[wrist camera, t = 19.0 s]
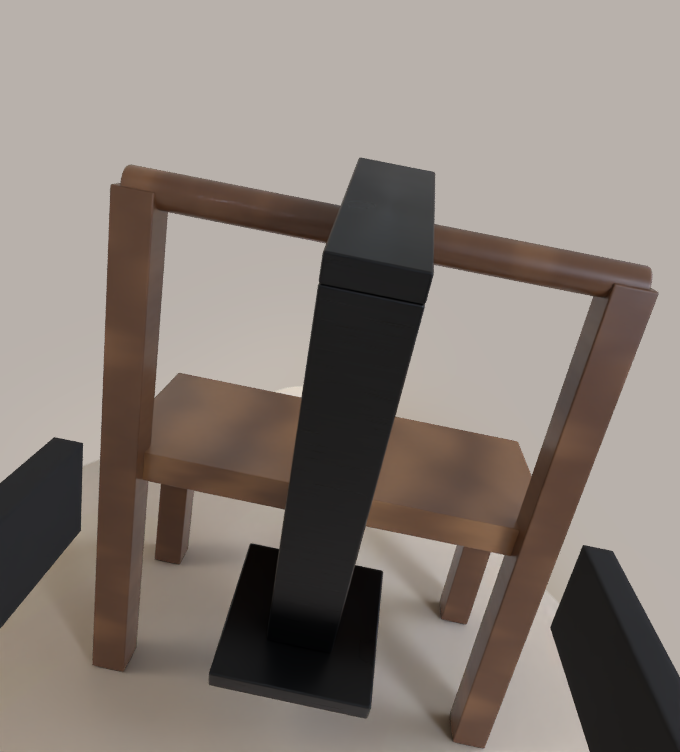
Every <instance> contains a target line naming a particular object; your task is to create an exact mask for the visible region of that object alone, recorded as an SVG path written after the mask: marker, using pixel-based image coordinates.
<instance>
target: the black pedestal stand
mask: <svg viewBox="0 0 680 752" xmlns="http://www.w3.org/2000/svg"><path fill="white" fill-rule="evenodd" d="M434 212H435V173H434V172H431V171H426V170H421V169H416V168H410V167H406V166H400V165H395V164H390V163H385V162H380V161H375V160H370V159H365V158H359V159H358V162H357V164H356V167H355V170H354V172H353V175H352V178H351V180H350V183H349V185H348V188H347V191H346V193H345V196H344V199H343V201H342V204H341V206H340V209H339V212H338V214H337V217H336V219H335V222H334V225H333V227H332V230H331V233H330V235H329V238H328V240H327V243H326V246H325V248H324V251H323V255H322V262H321V269H320V275H319V284H318V289H317V296H316V303H315V310H314V317H313V324H312V331H311V338H310V344H309V351H308V357H307V365H306V371H305V378H304V385H303V391H302V398H301V405H300V412H299V419H298V425H297V432H296V439H295V446H294V453H293V459H292V466H291V473H290V480H289V487H288V493H287V500H286V507H285V514H284V521H283V527H282V534H281V541H280V548H279V549H276V548H271V547H266V546H262V545H257V544H252V543H251V544H250V546H249V549H248V552H247V555H246V558H245V561H244V564H243V568H242V571H241V574H240V577H239V580H238V583H237V587H236V590H235V593H234V596H233V599H232V602H231V605H230V609H229V612H228V615H227V618H226V621H225V624H224V627H223V631H222V634H221V637H220V640H219V643H218V646H217V650H216V653H215V656H214V659H213V662H212V665H211V668H210V672H209V685H211V686H216V687H221V688H225V689H230V690H235V691H239V692H244V693H249V694H253V695H258V696H263V697H267V698H272V699H277V700H281V701H286V702H290V703H295V704H300V705H304V706H309V707H314V708H318V709H323V710H328V711H332V712H337V713H342V714H346V715H351V716H356V717H360V718H367V717H368V714H369V712H370V709H371V702H372V691H373V679H374V668H375V657H376V646H377V635H378V623H379V612H380V601H381V590H382V579H383V571H381V570H376V569H371V568H366V567H362V566H357V565H355V564H356V560H357V556H358V552H359V549H360V545H361V541H362V538H363V534H364V530H365V527H366V523H367V519H368V515H369V512H370V508H371V504H372V501H373V497H374V493H375V489H376V486H377V482H378V478H379V475H380V471H381V467H382V464H383V460H384V456H385V452H386V449H387V445H388V441H389V438H390V434H391V430H392V426H393V423H394V419H395V415H396V412H397V408H398V404H399V401H400V396H401V393H402V389H403V386H404V382H405V378H406V374H407V371H408V367H409V363H410V360H411V356H412V352H413V349H414V345H415V341H416V337H417V334H418V330H419V326H420V323H421V319H422V315H423V312H424V308H425V303H426V301H427V297H428V293H429V289H430V286H431V282H432V278H433V273H434Z"/></svg>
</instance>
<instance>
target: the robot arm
mask: <svg viewBox="0 0 680 752" xmlns="http://www.w3.org/2000/svg"><path fill="white" fill-rule="evenodd" d="M82 458H83V443H79V442H75V441H70V440H65V439H60V438H55V437H54V438H53V439H52V440H51V441H49V442H48V443H47V444H46V445H45V446H44V447H42V448H41V449H40V450H39V451H37V452H36V453H35V454H34V455H33V456H32V457H30V459H28V460H27V461H26V462H25V463H24V464H22V465H21V466H20V467H19V468H18V469H16V470H15V471H14V472H13V473H12V474H11V475H9V476H8V477H7V478H6V479H5V480H3V481H2V482H1V483H0V628H1V627H2V626H3V625H4V623H5V622H6V621H7V620H8V619H9V617H10V616H11V615H12V614H13V612H14V611H15V610H16V609H17V608H18V606H19V605H20V604H21V603H22V601H23V600H24V599H25V598H26V597H27V595H28V594H29V593H30V592H31V590H32V589H33V588H34V587H35V586H36V584H37V583H38V582H39V581H40V580H41V578H42V577H43V576H44V575H45V573H46V572H47V571H48V570H49V569H50V567H51V566H52V565H53V564H54V562H55V561H56V560H57V559H58V558H59V556H60V555H61V554H62V553H63V552H64V550H65V549H66V548H67V547H68V545H69V544H70V543H71V542H72V541H73V539H74V538H75V537H76V536H77V534H78V533H79V532H80V531H81V501H82V461H83V459H82ZM550 628H551V631H552V634H553V637H554V640H555V644H556V647H557V650H558V653H559V656H560V659H561V662H562V666H563V669H564V672H565V675H566V678H567V681H568V685H569V688H570V691H571V694H572V697H573V700H574V703H575V707H576V710H577V713H578V716H579V719H580V722H581V725H582V729H583V732H584V735H585V738H586V741H587V744H588V747H589V751H590V752H680V677H679V675H678V673H677V671H676V669H675V667H674V665H673V664H672V662H671V660H670V658H669V656H668V654H667V652H666V650H665V649H664V647H663V645H662V643H661V641H660V639H659V637H658V635H657V634H656V632H655V630H654V628H653V626H652V624H651V622H650V620H649V619H648V617H647V615H646V613H645V611H644V609H643V607H642V605H641V603H640V602H639V600H638V598H637V596H636V594H635V592H634V590H633V588H632V586H631V585H630V583H629V581H628V579H627V577H626V575H625V573H624V571H623V569H622V568H621V566H620V564H619V562H618V560H617V558H616V556H615V555H614V553H613V551H609V550H605V549H600V548H595V547H590V546H585V545H583V547H582V549H581V552H580V555H579V557H578V559H577V562H576V564H575V567H574V569H573V572H572V574H571V577H570V579H569V582H568V584H567V587H566V589H565V592H564V594H563V597H562V599H561V602H560V604H559V607H558V609H557V612H556V614H555V617H554V619H553V622H552V625H551V627H550Z"/></svg>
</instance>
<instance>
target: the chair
mask: <svg viewBox="0 0 680 752" xmlns="http://www.w3.org/2000/svg"><path fill="white" fill-rule="evenodd" d="M339 209H340V206H339V205H334V204H329V203H324V202H319V201H314V200H308V199H303V198H299V197H294V196H289V195H283V194H278V193H273V192H268V191H263V190H258V189H253V188H248V187H243V186H238V185H232V184H227V183H222V182H217V181H212V180H207V179H202V178H197V177H191V176H187V175H182V174H177V173H171V172H166V171H161V170H156V169H151V168H146V167H141V166H135V165H128V166H126V168H125V169H124V171H123V173H122V178H121V183H118V184H111V188H110V213H109V241H108V266H107V267H108V268H107V293H106V294H107V295H106V320H105V346H104V373H103V399H102V426H101V427H102V428H101V452H100V455H101V456H100V478H99V505H98V531H97V558H96V584H95V611H94V637H93V664H92V665H94V666H98V667H103V668H108V669H112V670H117V671H122V672H123V671H124V670H125V668H126V666H127V664H128V662H129V660H130V658H131V657H132V655H133V653H134V651H135V649H136V644H137V630H138V617H139V603H140V589H141V575H142V561H143V548H144V534H145V520H146V506H147V492H148V481H150V482H155V483H160V484H161V489H160V502H159V514H158V526H157V538H156V551H155V559H156V560H161V561H166V562H171V563H176V564H180V563H181V561H182V559H183V557H184V555H185V553H186V551H187V549H188V543H189V533H190V524H191V514H192V505H193V496H194V491H199V492H203V493H208V494H213V495H218V496H223V497H228V498H232V499H237V500H242V501H247V502H252V503H257V504H261V505H266V506H271V507H276V508H281V509H285V507H286V500H287V493H288V487H289V480H290V473H291V466H292V459H293V453H294V446H295V439H296V432H297V425H298V419H299V412H300V405H301V397H296V396H291V395H286V394H281V393H276V392H271V391H266V390H261V389H256V388H251V387H246V386H241V385H237V384H231V383H226V382H222V381H217V380H212V379H207V378H201V377H197V376H192V375H187V374H182V373H178V374H177V375H176V376H175V378H173V379H172V380H171V382H170V383H169V384H168V385H167V386H166V387H165V388H164V389H163V390H162V391H161V392H160V393H159V394H158V395H157V396H156V397H155V398H154V395H155V380H156V368H157V354H158V340H159V325H160V313H161V298H162V285H163V271H164V257H165V242H166V229H167V216H168V212H170V213H175V214H180V215H185V216H190V217H195V218H201V219H206V220H210V221H215V222H221V223H226V224H231V225H236V226H241V227H246V228H251V229H256V230H261V231H266V232H271V233H277V234H282V235H287V236H292V237H297V238H302V239H307V240H312V241H317V242H322V243H327V240H328V238H329V235H330V233H331V230H332V227H333V225H334V222H335V219H336V217H337V214H338V212H339ZM434 265H438V266H443V267H448V268H453V269H458V270H464V271H468V272H474V273H479V274H484V275H489V276H494V277H499V278H504V279H509V280H514V281H519V282H524V283H529V284H534V285H539V286H544V287H549V288H555V289H560V290H564V291H570V292H575V293H580V294H585V295H590V296H593V299H592V302H591V305H590V308H589V311H588V314H587V317H586V320H585V322H584V325H583V328H582V331H581V334H580V337H579V340H578V343H577V346H576V349H575V352H574V355H573V357H572V360H571V363H570V366H569V369H568V372H567V375H566V378H565V381H564V384H563V387H562V389H561V393H560V395H559V398H558V401H557V404H556V407H555V410H554V413H553V416H552V419H551V422H550V425H549V427H548V431H547V433H546V436H545V439H544V442H543V445H542V448H541V451H540V454H539V457H538V460H537V462H536V465H535V468H534V471H533V474H532V476H531V473H530V471H529V468H528V466H527V464H526V461H525V458H524V456H523V453H522V451H521V448H520V446H519V443H518V442H517V441H512V440H508V439H503V438H498V437H492V436H488V435H483V434H478V433H473V432H468V431H463V430H458V429H453V428H448V427H443V426H439V425H434V424H429V423H424V422H419V421H414V420H409V419H404V418H399V417H395V419H394V423H393V426H392V430H391V434H390V438H389V441H388V445H387V449H386V452H385V456H384V460H383V464H382V467H381V471H380V475H379V478H378V482H377V486H376V489H375V493H374V497H373V501H372V504H371V508H370V512H369V515H368V519H367V523H366V526H368V527H373V528H378V529H382V530H387V531H392V532H397V533H402V534H407V535H411V536H416V537H421V538H426V539H431V540H436V541H440V542H445V543H450V544H455V545H457V547H456V550H455V553H454V556H453V560H452V563H451V566H450V569H449V573H448V576H447V579H446V583H445V586H444V589H443V592H442V596H441V599H440V608H441V619H443V620H448V621H453V622H458V623H463V624H467V622H468V619H469V616H470V613H471V610H472V607H473V604H474V601H475V598H476V595H477V592H478V589H479V586H480V583H481V580H482V577H483V574H484V571H485V568H486V565H487V562H488V559H489V556H490V553H491V552H494V553H498V554H503V555H505V556H504V558H503V561H502V564H501V567H500V570H499V573H498V576H497V579H496V582H495V585H494V588H493V590H492V593H491V596H490V599H489V602H488V605H487V608H486V611H485V614H484V617H483V620H482V623H481V625H480V628H479V631H478V634H477V637H476V640H475V643H474V646H473V649H472V652H471V655H470V657H469V660H468V663H467V666H466V669H465V672H464V675H463V678H462V681H461V684H460V687H459V690H458V692H457V695H456V698H455V701H454V704H453V707H452V710H451V713H450V719H451V730H452V740H453V742H456V743H460V744H465V745H470V746H474V747H479V748H485V745H486V743H487V740H488V737H489V735H490V732H491V730H492V727H493V724H494V722H495V719H496V716H497V714H498V711H499V709H500V706H501V703H502V701H503V698H504V696H505V693H506V690H507V688H508V685H509V683H510V680H511V677H512V675H513V672H514V670H515V667H516V664H517V662H518V659H519V657H520V654H521V651H522V649H523V646H524V643H525V641H526V638H527V636H528V633H529V630H530V628H531V625H532V623H533V620H534V617H535V615H536V612H537V610H538V607H539V604H540V602H541V599H542V597H543V594H544V591H545V589H546V586H547V584H548V581H549V578H550V575H551V573H552V570H553V568H554V565H555V563H556V560H557V557H558V555H559V552H560V549H561V547H562V544H563V542H564V539H565V536H566V534H567V531H568V529H569V526H570V524H571V521H572V518H573V516H574V513H575V511H576V508H577V505H578V503H579V500H580V497H581V495H582V492H583V490H584V487H585V484H586V482H587V479H588V477H589V474H590V471H591V469H592V466H593V464H594V461H595V458H596V456H597V453H598V451H599V448H600V445H601V443H602V440H603V437H604V435H605V432H606V430H607V427H608V424H609V422H610V419H611V416H612V414H613V411H614V409H615V406H616V403H617V401H618V398H619V396H620V393H621V391H622V388H623V385H624V383H625V380H626V378H627V375H628V372H629V370H630V367H631V364H632V362H633V359H634V357H635V354H636V351H637V349H638V346H639V344H640V341H641V338H642V336H643V333H644V330H645V328H646V325H647V323H648V320H649V318H650V315H651V312H652V310H653V307H654V305H655V302H656V299H657V297H658V292H657V291H655V290H654V289H652V288H650V287H651V283H652V270H651V268H650V267H648V266H645V265H640V264H635V263H630V262H625V261H620V260H614V259H609V258H604V257H599V256H594V255H589V254H584V253H579V252H574V251H569V250H564V249H558V248H553V247H548V246H543V245H537V244H533V243H528V242H523V241H518V240H513V239H508V238H502V237H497V236H492V235H487V234H482V233H477V232H471V231H467V230H461V229H457V228H451V227H446V226H441V225H436V224H434Z"/></svg>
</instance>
